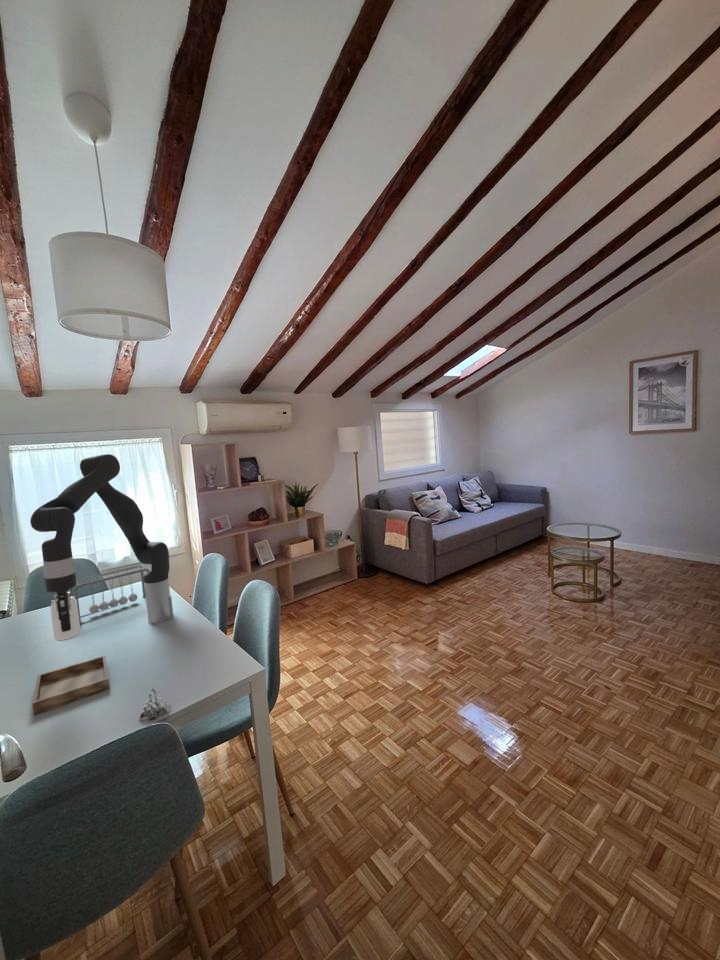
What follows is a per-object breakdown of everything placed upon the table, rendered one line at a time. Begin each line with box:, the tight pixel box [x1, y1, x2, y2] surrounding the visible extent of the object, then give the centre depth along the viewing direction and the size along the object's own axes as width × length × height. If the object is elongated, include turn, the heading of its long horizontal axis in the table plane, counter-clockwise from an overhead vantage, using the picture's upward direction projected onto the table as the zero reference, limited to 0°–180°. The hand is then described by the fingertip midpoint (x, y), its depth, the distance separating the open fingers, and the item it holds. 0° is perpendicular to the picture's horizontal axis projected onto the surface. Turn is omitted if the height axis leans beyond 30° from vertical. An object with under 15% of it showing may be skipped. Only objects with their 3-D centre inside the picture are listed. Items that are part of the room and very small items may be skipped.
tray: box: [31, 655, 111, 716], centre depth 123 cm, size 18×18×4 cm
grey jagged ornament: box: [138, 687, 171, 721], centre depth 106 cm, size 9×9×8 cm
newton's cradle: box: [68, 565, 151, 626], centre depth 183 cm, size 30×10×18 cm, turn 137°
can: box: [50, 594, 81, 642], centre depth 122 cm, size 6×6×12 cm
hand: (66, 626), depth 122 cm, fingers closed on can, 5 cm apart
